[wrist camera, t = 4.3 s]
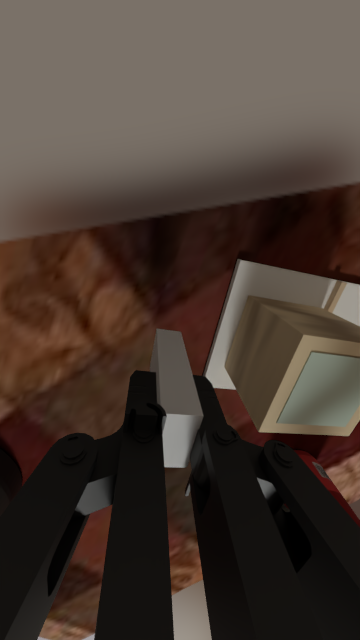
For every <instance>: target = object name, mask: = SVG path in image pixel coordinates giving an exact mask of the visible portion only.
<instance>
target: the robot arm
mask: <svg viewBox="0 0 360 640" xmlns="http://www.w3.org/2000/svg"><path fill="white" fill-rule="evenodd" d="M189 460H190V461H191V467H192V471H191V474H190V477H189V480H188V483H187V486H186V489H185V496H188V495H189V492H190V491H191V497H192V504H193V511H194V518H195V525H196V532H197V539H198V546H199V553H200V560H201V567H202V574H203V581H204V588H205V595H206V602H207V609H208V616H209V622H210V630H211V636H212V640H360V527H359V526H358V525H357V524H356V522H355V521H354V520H353V519H352V518H351V517H350V515H349V514H348V513H347V512H346V511H345V509H344V508H343V507H342V506H341V505H340V504H339V502H338V501H337V500H336V499H335V498H334V497H333V495H332V494H331V493H330V492H329V491H328V489H327V488H326V487H325V486H324V485H323V484H322V482H321V481H320V480H319V479H318V478H317V477H316V475H315V474H314V473H313V472H312V471H311V469H310V468H309V467H308V466H307V465H306V464H305V462H304V461H303V460H302V459H301V458H300V457H299V455H298V454H297V453H296V452H295V451H294V450H293V449H292V448H291V447H289V446H288V445H286V444H285V443H283V442H280V441H277V440H269V441H267V442H266V443H265V445H264V447H260V446H258V445H255V444H252V443H249V442H246V441H244V440H242V439H241V438H240V436H239V435H238V433H237V431H236V430H234V429H233V428H232V427H231V426H229V425H227V423H226V420H225V417H224V415H223V412H222V409H221V407H220V404H219V401H218V399H217V396H216V393H215V391H214V388H213V385H212V383H211V382H210V381H209V380H208V379H207V378H206V376H197V375H192V372H191V368H190V364H189V360H188V357H187V353H186V349H185V346H184V342H183V338H182V335H181V332H178V331H170V330H163V329H157V330H156V336H155V341H154V347H153V352H152V358H151V364H150V372H147V371H137V370H136V371H135V372H134V373H133V374H132V375H131V377H130V383H129V390H128V397H127V404H126V411H125V418H124V423H123V425H122V426H121V428H120V429H119V430H118V431H117V432H115V433H114V434H112V435H110V436H107V437H105V438H101V439H97V440H94V439H93V437H91V436H89V435H87V434H85V433H74V434H70V435H67V436H65V437H63V438H61V439H59V440H58V441H57V442H56V443H55V444H54V445H53V446H52V447H51V448H50V450H49V451H48V452H47V454H46V455H45V456H44V458H43V459H42V460H41V462H40V463H39V465H38V466H37V467H36V469H35V470H34V471H33V473H32V474H31V475H30V477H29V478H28V479H27V481H26V482H25V484H24V485H23V486H22V477H21V473H20V471H19V469H18V467H17V465H16V464H15V462H14V461H13V460H12V459H11V458H10V457H9V456H8V455H7V454H6V453H5V452H4V451H2V450H1V449H0V640H37V639H38V636H39V634H40V632H41V629H42V627H43V624H44V622H45V620H46V617H47V615H48V613H49V610H50V608H51V605H52V603H53V601H54V598H55V596H56V593H57V591H58V589H59V586H60V584H61V582H62V579H63V577H64V574H65V572H66V570H67V567H68V565H69V563H70V560H71V558H72V555H73V553H74V551H75V548H76V546H77V544H78V541H79V539H80V536H81V534H82V532H83V529H84V527H85V525H86V522H87V520H88V517H89V515H90V513H92V512H95V511H97V510H100V509H102V508H105V507H107V506H110V505H112V504H113V505H112V513H111V520H110V527H109V535H108V542H107V549H106V557H105V564H104V572H103V579H102V586H101V594H100V601H99V608H98V616H97V623H96V631H95V638H94V640H174V633H173V632H174V631H173V614H172V598H171V597H172V595H171V578H170V560H169V542H168V524H167V506H166V488H165V470H164V467H187V466H188V463H189ZM21 487H22V488H21ZM284 502H285V504H286V505H287V507H288V508H289V509H288V508H287V507H286V506H285V505H284Z"/></svg>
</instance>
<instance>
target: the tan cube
mask: <svg viewBox="0 0 360 640" xmlns="http://www.w3.org/2000/svg"><path fill="white" fill-rule="evenodd" d="M225 369H226V371H227V373H228V375H229V377H230V379H231V381H232V382H233V384H234V386H235V388H236V390H237V392H238V394H239V396H240V398H241V400H242V402H243V403H244V405H245V407H246V409H247V411H248V413H249V415H250V417H251V419H252V421H253V423H254V424H255V426H256V428H257V430H258V432H271V433H294V434H316V435H338V436H349V435H350V434H351V432H352V431H353V429H354V428H355V426H356V425H357V423H358V422H359V420H360V327H359V326H357V325H355V324H353V323H351V322H349V321H347V320H345V319H343V318H341V317H339V316H337V315H335V314H333V313H331V312H329V311H327V310H325V309H323V308H319V307H313V306H307V305H302V304H296V303H291V302H285V301H279V300H274V299H268V298H262V297H257V296H251V295H248V298H247V301H246V304H245V307H244V310H243V313H242V316H241V319H240V322H239V325H238V328H237V331H236V334H235V337H234V340H233V343H232V346H231V349H230V352H229V355H228V358H227V361H226V364H225Z"/></svg>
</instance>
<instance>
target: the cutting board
mask: <svg viewBox="0 0 360 640" xmlns="http://www.w3.org/2000/svg"><path fill="white" fill-rule="evenodd" d="M248 295H251V296H257V297H262V298H268V299H274V300H279V301H285V302H291V303H296V304H302V305H307V306H313V307H319V308H323V309H325V310H327V311H329V312H331V313H333V314H335V315H337V316H339V317H341V318H343V319H345V320H347V321H349V322H351V323H353V324H355V325H357V326H359V327H360V285H359V284H354V283H349V282H345V281H340V280H335V279H330V278H326V277H321V276H316V275H311V274H307V273H302V272H297V271H293V270H288V269H283V268H278V267H274V266H269V265H264V264H259V263H255V262H250V261H245V260H240V259H238V260H237V263H236V266H235V270H234V273H233V276H232V280H231V283H230V286H229V290H228V293H227V297H226V300H225V303H224V307H223V310H222V313H221V317H220V320H219V323H218V327H217V330H216V333H215V337H214V340H213V344H212V347H211V350H210V354H209V357H208V360H207V364H206V367H205V370H204V374H203V376H206V378H207V379H208V380H209V381H210V382H211V383H212V385H213V388H224V389H236V388H235V386H234V384H233V382H232V381H231V379H230V377H229V375H228V373H227V371H226V369H225V364H226V361H227V358H228V355H229V352H230V349H231V346H232V343H233V340H234V337H235V334H236V331H237V328H238V325H239V322H240V319H241V316H242V313H243V310H244V307H245V304H246V301H247V298H248Z"/></svg>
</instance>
